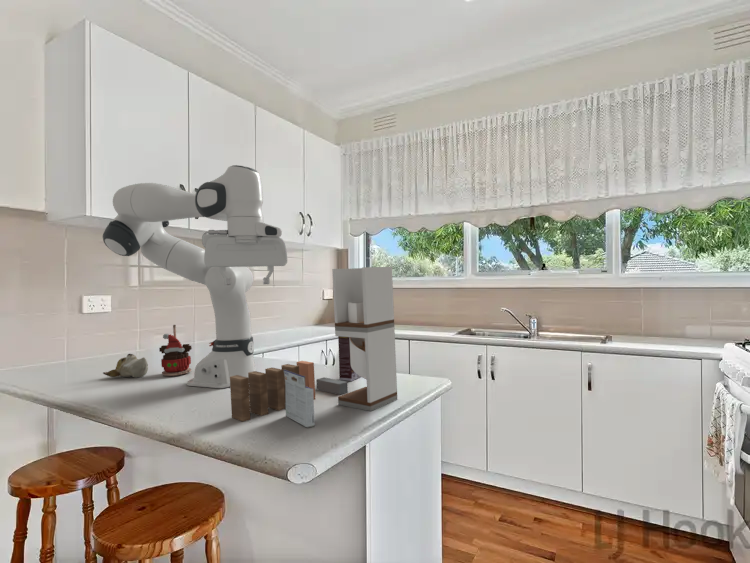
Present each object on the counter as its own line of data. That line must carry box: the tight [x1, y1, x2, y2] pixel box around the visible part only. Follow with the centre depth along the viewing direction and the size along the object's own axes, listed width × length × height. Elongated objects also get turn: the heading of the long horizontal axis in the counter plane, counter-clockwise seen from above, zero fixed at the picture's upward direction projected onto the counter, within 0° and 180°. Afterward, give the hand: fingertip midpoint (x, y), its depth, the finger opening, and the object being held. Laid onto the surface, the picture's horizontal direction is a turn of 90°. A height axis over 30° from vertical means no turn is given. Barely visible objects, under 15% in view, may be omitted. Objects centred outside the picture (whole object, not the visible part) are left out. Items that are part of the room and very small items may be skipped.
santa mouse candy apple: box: [158, 324, 193, 377], centre depth 160 cm, size 11×9×18 cm
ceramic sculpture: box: [102, 353, 149, 379], centre depth 159 cm, size 11×9×15 cm
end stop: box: [315, 377, 349, 396], centre depth 127 cm, size 3×10×3 cm, turn 47°
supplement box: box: [337, 336, 362, 382], centre depth 142 cm, size 9×5×16 cm, turn 151°
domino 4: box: [280, 363, 299, 404], centre depth 117 cm, size 2×5×10 cm, turn 47°
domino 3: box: [264, 367, 286, 411], centre depth 113 cm, size 2×5×10 cm, turn 47°
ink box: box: [284, 369, 316, 429], centre depth 102 cm, size 12×2×12 cm, turn 35°
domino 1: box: [230, 375, 251, 423], centre depth 106 cm, size 2×5×10 cm, turn 47°
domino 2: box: [248, 370, 269, 417], centre depth 109 cm, size 2×5×10 cm, turn 47°
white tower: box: [332, 266, 398, 412], centre depth 115 cm, size 11×11×35 cm
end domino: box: [296, 360, 316, 400], centre depth 120 cm, size 2×5×10 cm, turn 47°
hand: (247, 284), depth 112 cm, fingers open, 8 cm apart
